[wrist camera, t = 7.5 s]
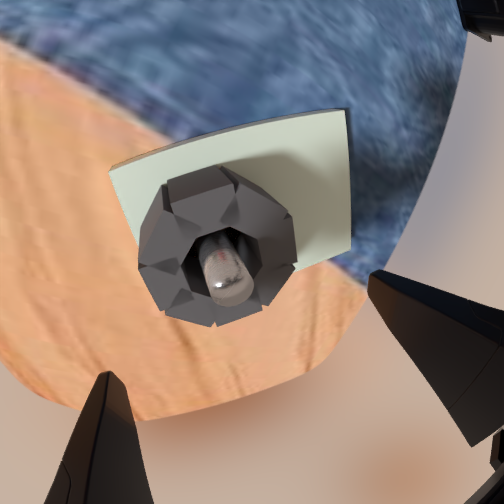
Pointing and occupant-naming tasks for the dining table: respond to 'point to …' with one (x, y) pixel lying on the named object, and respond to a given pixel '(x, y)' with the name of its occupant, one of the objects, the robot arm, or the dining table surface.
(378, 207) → the dining table surface
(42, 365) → the dining table surface
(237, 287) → the grey metallic cylinder
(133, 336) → the dining table surface
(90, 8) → the dining table surface
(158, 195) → the grey octagonal ring
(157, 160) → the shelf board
